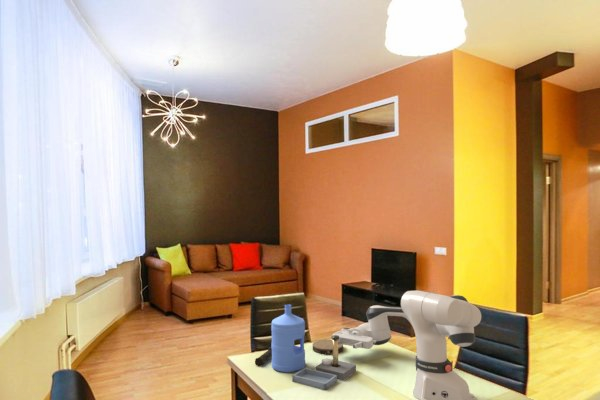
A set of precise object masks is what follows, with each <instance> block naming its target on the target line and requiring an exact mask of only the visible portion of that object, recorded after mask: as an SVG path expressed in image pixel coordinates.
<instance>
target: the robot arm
mask: <svg viewBox="0 0 600 400" xmlns="http://www.w3.org/2000/svg"><path fill="white" fill-rule="evenodd" d="M365 314H366V318H367V321H368V322H365V323H361V324H360V325H358V326H355V327H344V328H341V329H340V330H338V331H336V332H334V333H332V335H331V337H332V336H333V335H337V336H339V339H338V345H339V344H343V346H344V345H345V346H349V347H352V348H353V349H358V348H360V349H366V350H370V349H372V348H373V346H380V345H385V344H387V343H388V342H389V341H390V340H391V339H392V334H391V327H390V325H389V319H388V316H389V317H394V316H395V317H402V318H404V319H406V320H407V321H408V322H409V323H410V325H411V326H412V328H413V330H414V334H415V335H414V336H415V342H416V343H415V344H416V356H415V371H416V373H415V374H416V376H415V383H414V387H413V391H412V392H413V396H415V398H417V399H418V400H477V398H476V396H475V395H474V394H473V393H471V391H470V388H469V384H468V382H467V380H465V379H464V378H463V377H462V376H460V375H459V374H458V373H457V372H456V371H455V370H454V369H453V367H454V366H453V363H454V360H451V361H450V359H448V354H447V353H448V351H447V347H448V345H447V339H448V340H450V342H451V343H452V344H453V345H454V346H457V347H461V348H462V347H463V348H465V347H469V346H472V345H474V343H475V342H476V334H475V327H476V326H478V325H479V324H480V323H481V321H482V312H481V310H480V309H479V308H478V307H477V306H476V305H474V304H473V303H471V302H469V301H468V299H467V298H466V297H465V296H463V295H459V294H452V295H446V294H439V293H434V292H430V291H429V292H428V291H423V290H416V289H415V290H407V291H405V292H404V293H403V294H402V296H401V299H400V306H385V305H379V304H378V305H377V304H376V305H372V306H369V307H368V309H367V310H366V312H365ZM331 340H332V342H333V339H332V338H331Z"/></svg>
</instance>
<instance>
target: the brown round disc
mask: <svg viewBox="0 0 600 400" xmlns="http://www.w3.org/2000/svg"><path fill="white" fill-rule="evenodd" d="M343 351H344V344H339V345H338V354H341V353H342V352H343ZM312 352H314V353H316V354H319V355H326V356H328V355H329V356H330V355H332V356H333V342H332V339H331V338H330V339H328V338H327V339H326V338H325V339H318V340H315V341H314V342H312Z"/></svg>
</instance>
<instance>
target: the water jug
mask: <svg viewBox="0 0 600 400" xmlns="http://www.w3.org/2000/svg"><path fill="white" fill-rule="evenodd" d="M270 329H271V346H270V347H272V357H271V368H273V369H274V370H275V371H277V372H282V373H296V372H299V371H300V370H302V369H304V368H306V350H305V335H306V333H305V330H306V322H305V319H303V318H302V317H300V316H298V315H295V314H293V313H292V304H290V303H289V304H284V313H283V314H281V315H279V316H278V317H275V318H274V319H272V321H271V327H270ZM297 340H299V346H298V345H295V341H297Z"/></svg>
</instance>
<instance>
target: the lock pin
mask: <svg viewBox="0 0 600 400" xmlns="http://www.w3.org/2000/svg"><path fill="white" fill-rule="evenodd" d="M332 339H333V355H332V359H333V367H336V368H338V361H339V353H338V339H339V336H337V335H333V336H332V335H331V340H332Z"/></svg>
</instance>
